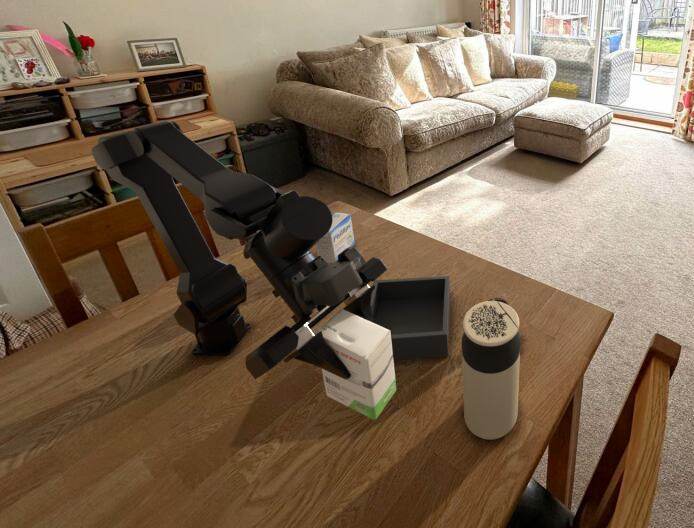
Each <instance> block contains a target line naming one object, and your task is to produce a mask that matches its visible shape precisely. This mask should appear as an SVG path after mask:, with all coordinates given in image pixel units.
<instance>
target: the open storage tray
mask: <svg viewBox="0 0 694 528" xmlns="http://www.w3.org/2000/svg"><path fill="white" fill-rule="evenodd" d="M374 284H375V289H374V290H373V291H372V295H371V308H372V314H373V317H374V321H375V324H377V325H379V326H381V327H383V328H386V329H388V330H390V332H391V342H392V352H393V361H395V362H396V361H408V360H419V359H431V358H432V359H433V358H444V357H449V343H450V342H449V341H450V318H451V317H450V315H451V314H450V313H451V281H450V275H437V276H423V277H421V276H420V277H407V278H405V277H404V278H390V279H388V278H387V279H376V280H375V281H373V284H372V286H373V285H374Z"/></svg>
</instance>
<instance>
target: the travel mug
mask: <svg viewBox="0 0 694 528" xmlns="http://www.w3.org/2000/svg"><path fill="white" fill-rule="evenodd" d="M462 328H463V331H464V332H463V334H462V336H461V363H462V388H463V389H462V391H463V392H462V395H463V396H462V397H463V418H464V422H465V425H466V427H467V428H468V430H469V431H470V433H471V434H473V435H474V436H475V437H478V438H480V439H484V440H497V439H500V438H502V437H504V436H506V435H507V434H508V433H510V431H512V429H513V428H514V427H515V425H516V423H517V420H518V413H519V392H520V391H519V389H520V387H519V386H520V364H521V363H520V361H521V344H520V342H521V338H520V334H521V333H519V332H520V331H519V329H520V318H519V315H518V313H517V311H516V310H515V309H514V308H513V307H512V306H511V305H507V304H505V303H502V302H498V301H488V300H487V301H486V300H485V301H482V302H479V303H477V304H474V305H473V306H472V307H471V308H469V309H468V310H467V312H466V313H465V315H464V317H463V320H462Z"/></svg>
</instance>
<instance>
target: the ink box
mask: <svg viewBox="0 0 694 528" xmlns="http://www.w3.org/2000/svg"><path fill="white" fill-rule="evenodd" d="M320 331H321V332H322V334H323V337H324V340H325V343H326V344H327V346H328V347H329V348H330V349H331V350H332V351H333V352H334V354H335V355H336V356H337V357H338V358H339V359H340V360H341V362H342V363H343V364H344V365H345V366H346V368H347V369H348V371H349V372H350V374H351V377H350V378H349V379H347V380H345V379H343V378H341V377H339V376H337V375H335V374H332V373H330V372H328V371H326V370H324V369H322V368H321V374H322V379H323V384H324V390H325V394H326V397H328V398H330V399H332V400H334V401H336V402H337V403H340V404H341V405H343V406H346V407H347V408H349V409H352V410H353V411H355V412H357V413H359V414H361V415H363V416H365V417H367V418H369V419H371V420H373V421H375V420H377V419H378V417H379V416H380V415H381V413H382V412H383V410H384V409H385V407H386V406H387V405H388V403H389V402H390V400H391V399H392V397H393V396H394V395H395V393H396V392H397V382H396V372H395V362H394V361H393V352H392V342H391V332H390V330H388V329H386V328H383V327H381V326H379V325H377V324H375V323H372V322H370V321H368V320H365V319H363V318H361V317H359V316H357V315H354V314H352V313H350V312H348V311H346V310H343V308H340V310H339V311H337V312H336V313H335V314H334V315H333V316H332V317H330V318H329V319H328V320H327V321H326V322H325V323H324V324H323V325H322V326H321V327H320V328H319V329H318V330H317V331H316V332H315V333H314V334H315V335H316V334H317V333H319V332H320Z"/></svg>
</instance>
